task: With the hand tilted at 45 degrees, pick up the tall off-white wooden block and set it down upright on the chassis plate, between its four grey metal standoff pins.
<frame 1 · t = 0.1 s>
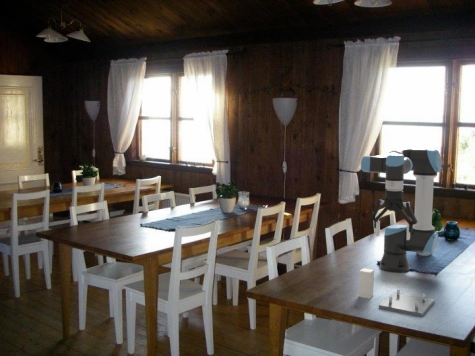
hand: (392, 237, 238), 28 cm above the table, tool pointing down, fingers open, 13 cm apart
block: (365, 296, 244), on the table
chassis: (406, 305, 232), on the table
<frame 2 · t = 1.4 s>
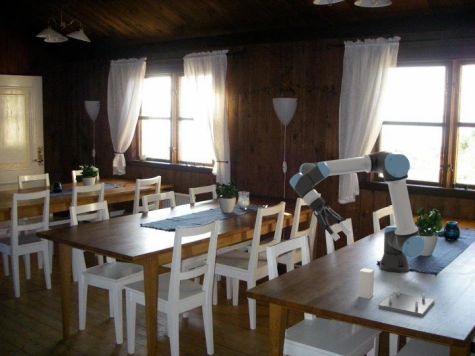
hand: (343, 236, 249), 26 cm above the table, tool tilted 45°, fingers open, 13 cm apart
nothing on the table moved.
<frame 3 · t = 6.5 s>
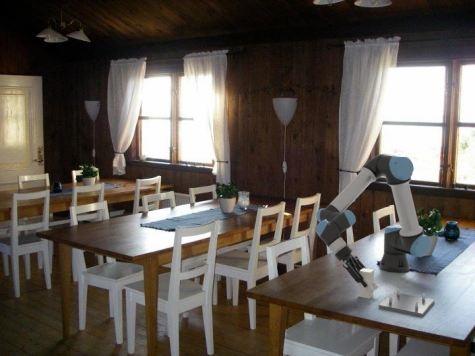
hand: (374, 290, 242), 3 cm above the table, tool tilted 45°, fingers closed on block, 5 cm apart
block: (365, 296, 244), on the table, touching gripper
when the fingers open (6 cm above the table, at t = 12.6 s): block drops 1 cm, resting on chassis.
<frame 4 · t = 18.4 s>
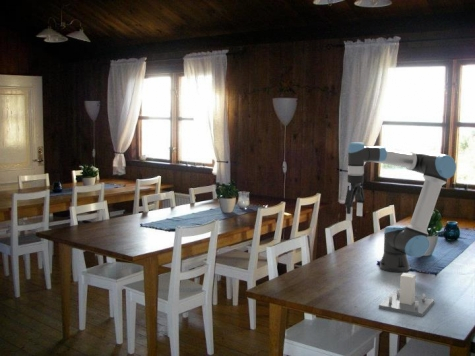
hand: (354, 218, 262), 32 cm above the table, tool pointing down, fingers open, 13 cm apart
block: (406, 302, 232), point 1 cm above the table, touching chassis
at the end: block 0.1 cm off-centre on the chassis, point 1.5 cm above the chassis's base; block tilted 0°; the gripper is holding nothing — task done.
